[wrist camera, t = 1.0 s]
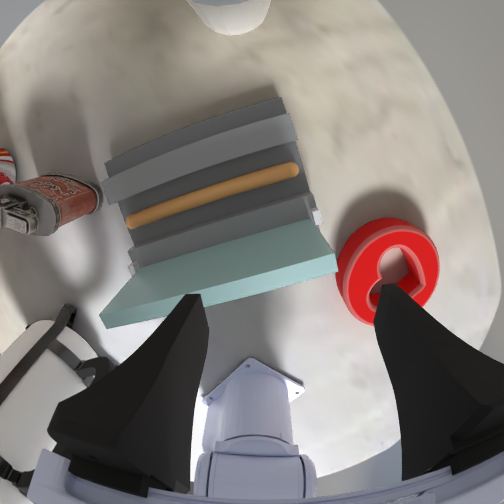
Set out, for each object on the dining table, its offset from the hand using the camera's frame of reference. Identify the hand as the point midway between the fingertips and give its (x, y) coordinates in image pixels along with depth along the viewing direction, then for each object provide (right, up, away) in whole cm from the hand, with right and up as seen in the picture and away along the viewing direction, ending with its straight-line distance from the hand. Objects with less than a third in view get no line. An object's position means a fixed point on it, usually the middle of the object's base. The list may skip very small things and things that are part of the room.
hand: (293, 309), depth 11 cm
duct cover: (-4, +2, +7) cm, 8 cm away
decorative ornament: (+11, +1, +15) cm, 18 cm away
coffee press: (-23, -9, +19) cm, 31 cm away
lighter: (-19, +8, +13) cm, 24 cm away
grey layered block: (-5, +7, +12) cm, 15 cm away
